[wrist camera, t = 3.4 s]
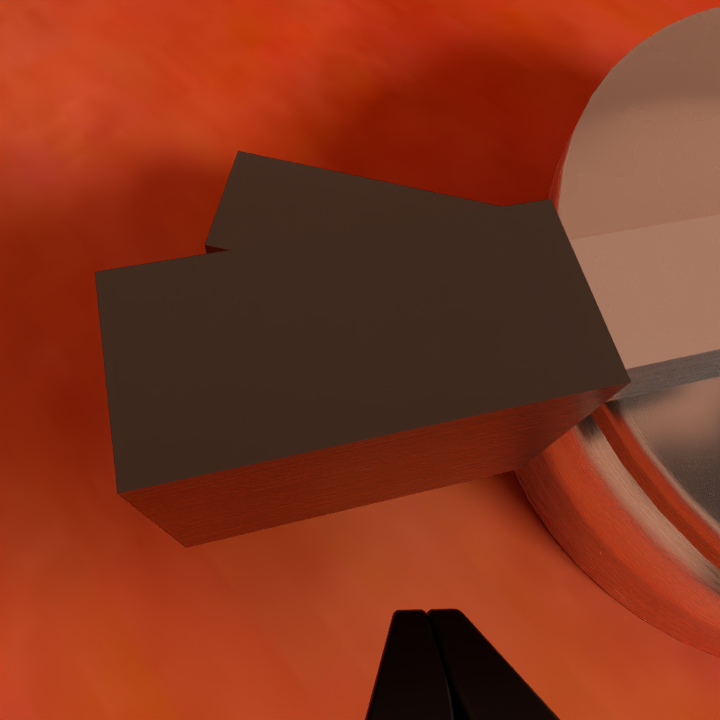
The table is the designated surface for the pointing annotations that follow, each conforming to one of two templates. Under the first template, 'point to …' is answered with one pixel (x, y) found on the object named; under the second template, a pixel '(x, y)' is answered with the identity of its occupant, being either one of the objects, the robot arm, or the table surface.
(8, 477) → the table surface
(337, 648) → the table surface
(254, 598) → the table surface
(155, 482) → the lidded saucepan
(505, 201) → the table surface
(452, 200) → the pressure pot
